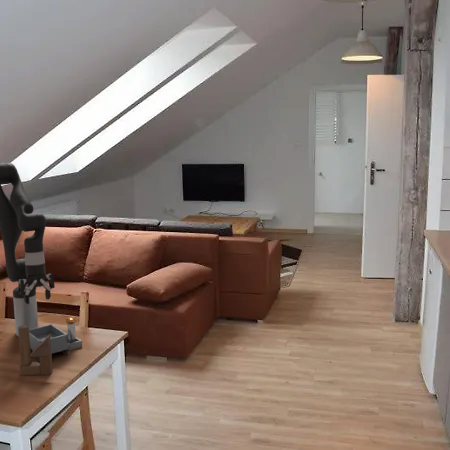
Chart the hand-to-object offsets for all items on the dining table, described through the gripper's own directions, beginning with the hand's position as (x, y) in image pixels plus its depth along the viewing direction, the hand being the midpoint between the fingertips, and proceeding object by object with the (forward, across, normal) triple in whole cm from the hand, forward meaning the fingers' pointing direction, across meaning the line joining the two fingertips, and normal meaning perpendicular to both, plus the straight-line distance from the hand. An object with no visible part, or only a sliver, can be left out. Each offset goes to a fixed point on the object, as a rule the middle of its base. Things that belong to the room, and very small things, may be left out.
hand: (37, 301), depth 213 cm
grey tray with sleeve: (+19, -1, +11) cm, 22 cm away
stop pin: (+18, -8, +12) cm, 23 cm away
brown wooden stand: (+20, +13, +24) cm, 34 cm away
